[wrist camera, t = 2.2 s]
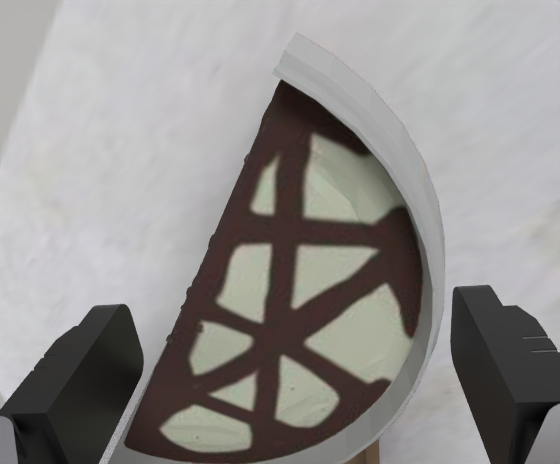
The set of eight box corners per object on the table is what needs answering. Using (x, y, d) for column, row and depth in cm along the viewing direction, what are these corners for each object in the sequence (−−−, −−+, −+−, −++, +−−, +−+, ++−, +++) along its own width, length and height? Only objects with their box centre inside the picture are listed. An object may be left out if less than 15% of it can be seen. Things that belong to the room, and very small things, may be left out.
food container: (313, 339, 22) (302, 563, 13) (194, 287, 21) (97, 486, 12) (463, 100, 17) (617, 200, 8) (311, 23, 16) (287, 36, 7)
